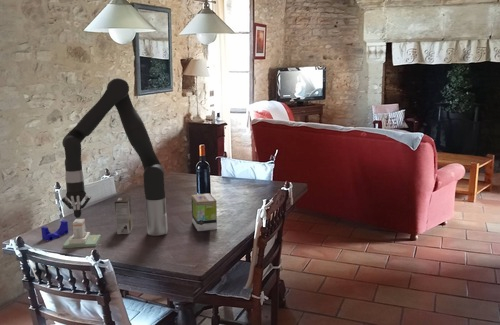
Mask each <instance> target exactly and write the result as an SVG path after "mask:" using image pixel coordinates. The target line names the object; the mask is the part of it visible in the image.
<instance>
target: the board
mask: <svg viewBox="0 0 500 325" xmlns="http://www.w3.org/2000/svg"><path fill="white" fill-rule="evenodd" d="M101 238H102V234H91V232H90V231H86V236H85V238H83V239H74V233H73V234H72V235H70V236H69V237H68V238H67V239H66V241H65V242H64V243H63V244H62V249H68V248H69V249H70V248H73V249H74V248H89V247H97V244H98V243H99V242H100V240H101Z"/></svg>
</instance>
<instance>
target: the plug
mask: <svg viewBox="0 0 500 325" xmlns="http://www.w3.org/2000/svg"><path fill="white" fill-rule="evenodd" d="M85 220H86V219H85V218H76V219H74V221H73V222H72V231H73V234H74V239H83V238H85V236H86V232H87V231H86V221H85Z"/></svg>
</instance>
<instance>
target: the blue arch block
mask: <svg viewBox="0 0 500 325" xmlns="http://www.w3.org/2000/svg"><path fill="white" fill-rule="evenodd" d="M68 224H69V223H68V221H67V220H60V225H59V228H58V229H57V230H56V231H54V232H51V231H50V230H49V227H47V226H41V228H40V229H41V238H42V240H44V241H47V242H50V241H53V240H56V239H59V238H60V236H63V235H66V234H69V225H68Z"/></svg>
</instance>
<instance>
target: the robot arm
mask: <svg viewBox="0 0 500 325" xmlns="http://www.w3.org/2000/svg"><path fill="white" fill-rule="evenodd" d="M129 91H130V86H129V83H128V82H127V80H125V79H123V78H119V77H116V78H113V79H111V80H109V82H108V83H107V85H106V90H105V91H104V92H103V94H102V96H101V97H100V98H99V100H98V101H97V102H96V103H95V104H94V105H93V106H92V107H91V108H90V109H89V110H88V111H87V112H86V113H85V114H84V115H83V116H82V117H81V119H80V120H79V121H78V122H77V124H76V125H75V126H74V127H73V128H72V129H71V130H69V131H68V133H66V134H65V136H64V137H63V139H62V142H61V143H62V144H61V145H62V147H63V148H64V156H65V160H64V168H65V170H64V171H65V174H64V175H65V187H66V193H65V196H63V197H62V198H61V202H63V204H65V206H67V207H68V209H69V210H73V215H74V217H75V218H76V219H81V216H82V209H84V208H85V207H86V206H87V204H88V203H89V202H90V200H91V199H92V196H90V195H87V193H86V192H87V191H86V190H85V179H84V171H83V163H82V142H83V141H84V140H85V139H86V138H87V137H89V136H91V134H92V133H93V131H95V129H96V128H97V127H98V126H99V124H100V123H101V122H102V121H103V119H104V118H105V116H107V114H108V113H109V111H111V110H112V108H114V107H115V109H116V110H117V112H118V113H117V114H118V115H119V116H118V117H119V119H120V122H121V125H122V128H123V130H124V132H125V135H126V138H127V139H128V142H129V144H130V145H131V146H132V148H133V150H134V151H135V152H136V154H137V156H138V157H139V159H140V161H141V164H142V167H143V171H144V172H143V176H142V178H143V187H144V188H143V190H144V191H143V192H144V198H145V212H146V231H147V235H148V236H155V237H156V236H157V237H158V236H163V235H167V234H168V215H167V214H168V213H167V205H166V201H167V200H166V190H165V169H164V167H163V165H162V163H161V162H160V161H159V158H158V157H157V155H156V152H155V150H154V147H153V143H152V140H151V138H150V135H149V133H148V130H147V128H146V126H145V124H144V121H143V119H142V118H141V116H140V115H139V113H138V112H137V110H136V109H135V106H134V105H133V103H132V99H131V97H130V94H129ZM84 200H85V201H84ZM82 201H84V202H83V203H82Z"/></svg>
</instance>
